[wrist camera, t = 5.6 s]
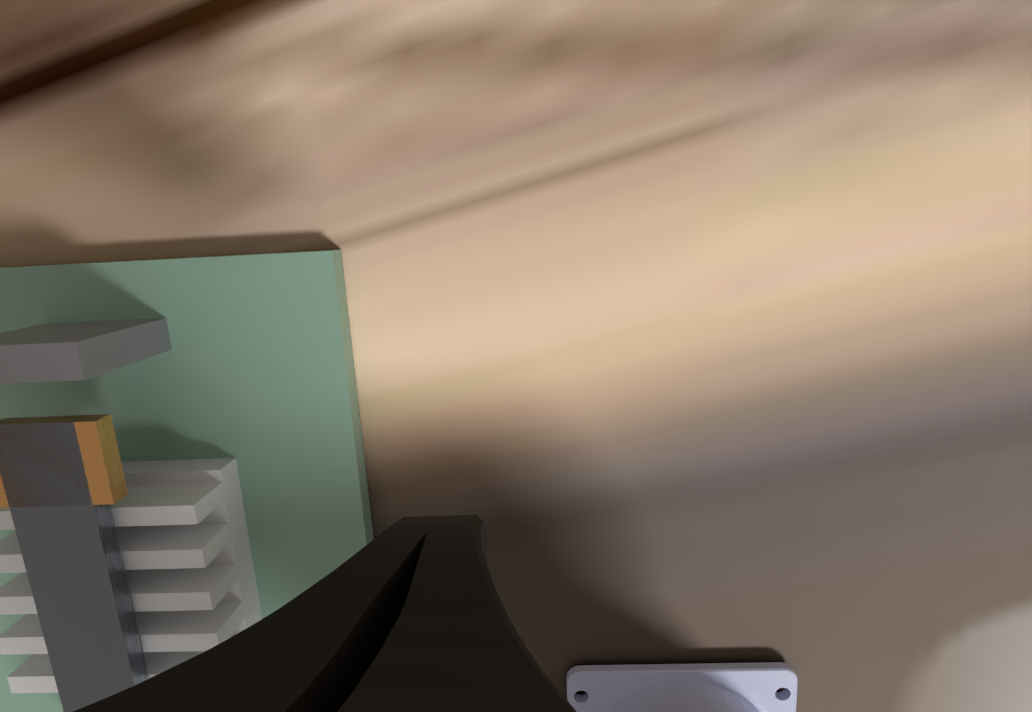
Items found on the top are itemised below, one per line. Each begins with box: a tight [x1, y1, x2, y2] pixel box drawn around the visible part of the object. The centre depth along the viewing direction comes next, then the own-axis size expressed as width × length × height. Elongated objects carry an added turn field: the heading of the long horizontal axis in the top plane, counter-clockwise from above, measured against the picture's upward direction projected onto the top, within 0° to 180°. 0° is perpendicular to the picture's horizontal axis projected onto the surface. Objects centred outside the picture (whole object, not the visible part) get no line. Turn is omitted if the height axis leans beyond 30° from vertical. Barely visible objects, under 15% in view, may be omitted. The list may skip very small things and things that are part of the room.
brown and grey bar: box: [0, 414, 149, 712], centre depth 18 cm, size 13×4×2 cm, turn 3°
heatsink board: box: [0, 249, 374, 712], centre depth 19 cm, size 20×15×5 cm
